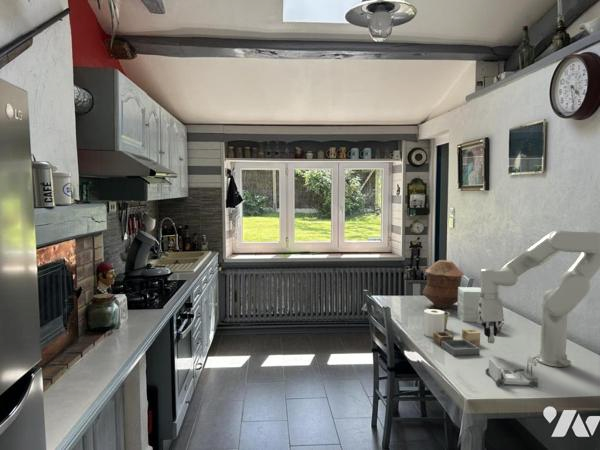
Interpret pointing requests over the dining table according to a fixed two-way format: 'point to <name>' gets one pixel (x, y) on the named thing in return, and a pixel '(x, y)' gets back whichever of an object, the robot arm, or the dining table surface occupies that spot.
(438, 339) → the square wooden socket
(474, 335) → the oak block
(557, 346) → the robot arm
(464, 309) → the supplement box
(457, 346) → the tray
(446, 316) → the flower pot
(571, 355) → the dining table surface
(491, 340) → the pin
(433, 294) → the pottery vessel
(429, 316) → the toilet paper
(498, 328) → the game die
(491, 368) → the toy car
